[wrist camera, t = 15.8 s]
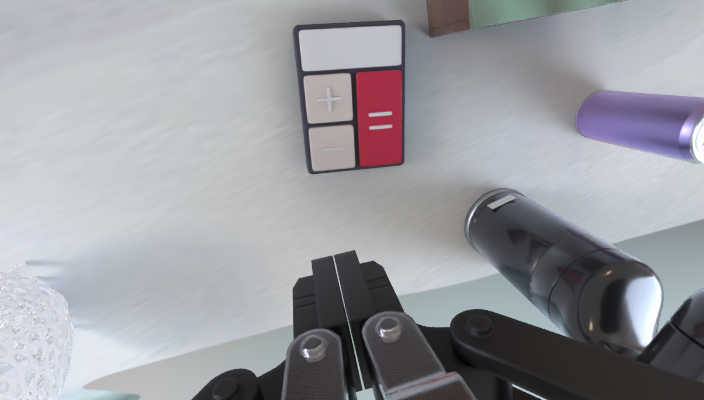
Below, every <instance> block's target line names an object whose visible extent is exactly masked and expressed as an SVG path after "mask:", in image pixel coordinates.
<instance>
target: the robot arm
mask: <svg viewBox="0 0 704 400" xmlns="http://www.w3.org/2000/svg"><path fill="white" fill-rule="evenodd" d="M465 234H466V237H467V240H468V242H469V243H470V244H471V245H472V247H473V248H475V249H476V250H477V251H478V252H480V253H481V254H482V255H483V256H484V257H485V258H486V259H487V260H488V261H489V262H490V263H491V264H492V265H493V266H494V267H495V268H496V269H497V270H498V271H499V272H500V273H501V274H502V275H503V276H504V277H505V278H506V279H508V280H509V281H510V282H511V283H512V284H513V285H514V286H515V287H516V288H517V289H518V290H519V291H520V292H521V293H522V294H523V295H524V296H525V297H526V298H527V299H528V300H529V301H530V302H532V304H534V306H535V307H537V308H538V309H539V310H540V311H541V312H542V313H543V314H544V315H545V316H546V317H547V318H548V319H549V320H550V321H551V322H552V323H553V324H554V325H555V326H556V327H557V328H558V329H559V330H560V331H561V332H562V333H563V334H564V335H565V336H563V335H560V334H557V333H554V332H551V331H548V330H545V329H542V328H539V327H536V326H533V325H530V324H527V323H524V322H521V321H518V320H515V319H513V318H510V317H507V316H504V315H501V314H498V313H495V312H491V311H488V310H483V309H473V310H467V311H463V312H461V313H459V314H458V315H456V316H455V317H454V318H453V319H452V321H451V324H450V327H437V328H436V327H425V326H422V325H419V324H416V323H415V322H414V320H413V318H411V317H410V316H409V315H407V314H405V312H404V310H403V308H402V306H401V304H400V302H399V300H398V298H397V296H396V293H395V291H394V289H393V287H392V285H391V283H390V281H389V279H388V277H387V274H386V272H385V270H384V268H383V267H382V266H381V265H379V264H378V263H376V262H375V261H370V262H366V263H361V264H360V263H359V260H358V257H357V255H356V252H355V250H353V251H349V252H345V253H340V254H336V255H334V257H335V262H336V267H337V271H338V276H339V280H340V285H341V290H342V294H343V299H344V303H345V307H346V311H347V316H348V320H349V324H350V328H351V333H352V337H353V341H354V345H355V350H356V354H357V358H358V362H359V366H360V370H361V374H362V379H363V383H364V387H365V389H369V388H373V391H374V395H375V399H376V400H541V399H539V398H537V397H535V396H532V395H530V394H528V393H526V392H523V391H522V390H519V389H517V388H515V387H513V386H512V384H514V385H516V386H519V387H521V388H523V389H525V390H527V391H530V392H532V393H534V394H536V395H539V396H541V397H543V398H545V399H547V400H704V288H703V289H699V290H697V291H696V292H694V293H693V294H692V295H691V296H690V297H689V298H687V300H685V301H684V302H683V304H682V305H681V306H680V307H679V308H678V310H676V312H675V313H674V314H673V315H672V316H671V317H670V320H669V321H667V322H666V323H665V324H664V326H663V327H662V328H661V329H660V331H659V332H658V325H659V321H660V316H661V311H662V307H663V287H662V284H661V281H660V279H659V277H658V276H657V274H656V273H655V272H654V271H653V270H652V269H651V268H650V267H649V266H648V265H647V264H645V263H644V262H642V261H640V260H639V259H637V258H635V257H633V256H631V255H629V254H627V253H626V252H624V251H622V250H620V249H619V248H617V247H615V246H613V245H611V244H609V243H608V242H606V241H604V240H602V239H600V238H598V237H596V236H595V235H593V234H591V233H589V232H587V231H585V230H584V229H582V228H580V227H578V226H576V225H575V224H573V223H571V222H569V221H567V220H565V219H564V218H562V217H560V216H558V215H556V214H555V213H553V212H551V211H549V210H547V209H546V208H544V207H542V206H540V205H538V204H536V203H535V202H533V201H531V200H529V199H527V198H526V197H525V196H524V195H522V194H520V193H518V192H516V191H514V190H510V189H498V190H494V191H491V192H489V193H487V194H485V195H483V196H482V197H481V198H479V199H478V200H477V201H476V202H475V203H474V205H473V206H472V207H471V209H470V211H469V213H468V215H467V218H466V221H465ZM311 262H312V271H313V275H311V276H307V277H303V278H299V279H298V281H297V282H296V284H295V286H294V287H293V327H294V328H293V330H294V340H293V341H292V342H291V344H290V345H289V347H288V349H287V353H286V359H285V360H284V361H283V362H282V363H281V364H280V365H278V366H277V367H276V368H274V369H272V370H271V371H269V372H267V373H265V374H263V375H261V376H259V377H256V375H255V374H254V373H253V372H252V371H250V370H246V369H234V370H230V371H227V372H224V373H222V374H220V375H219V376H217V377H215V378H214V379H213V380H211V381H210V382H209V383H208V384H207V385H206V386H205V387H204V388H203V389H202V390H201V391H200V392H199V393H198V394H197V395H196V396H195V397H194V398H193V399H192V400H357V396H356V392H358V391H361V390H362V385H361V381H360V376H359V371H358V367H357V362H356V357H355V353H354V348H353V344H352V339H351V335H350V330H349V325H348V321H347V317H346V312H345V308H344V304H343V300H342V295H341V291H340V287H339V282H338V278H337V274H336V270H335V265H334V261H333V257H332V256H328V257H324V258H319V259H315V260H311Z"/></svg>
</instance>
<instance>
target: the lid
mask: <svg viewBox="0 0 704 400" xmlns="http://www.w3.org/2000/svg"><path fill="white" fill-rule="evenodd" d="M621 1H626V0H469V8H470V27H471V29H475V28H480V27H486V26H491V25H497V24H502V23H507V22H513V21H518V20H524V19H529V18H534V17H540V16H545V15H550V14H556V13H561V12H567V11H572V10H577V9H583V8H588V7H594V6H599V5H604V4H610V3H615V2H621Z"/></svg>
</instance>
